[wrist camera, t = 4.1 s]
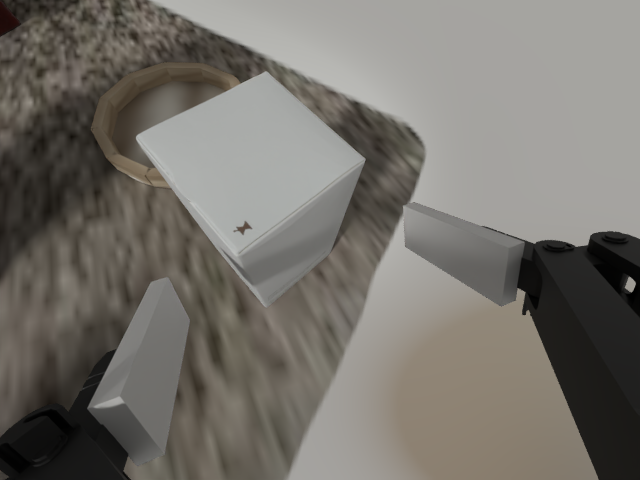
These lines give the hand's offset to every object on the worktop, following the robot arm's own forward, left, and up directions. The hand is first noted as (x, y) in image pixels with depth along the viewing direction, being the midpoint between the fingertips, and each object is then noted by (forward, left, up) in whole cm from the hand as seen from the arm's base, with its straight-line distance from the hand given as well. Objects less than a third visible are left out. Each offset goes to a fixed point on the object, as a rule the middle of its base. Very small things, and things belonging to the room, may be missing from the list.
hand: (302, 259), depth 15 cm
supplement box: (-2, +6, -13) cm, 14 cm away
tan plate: (-12, +22, -12) cm, 28 cm away
